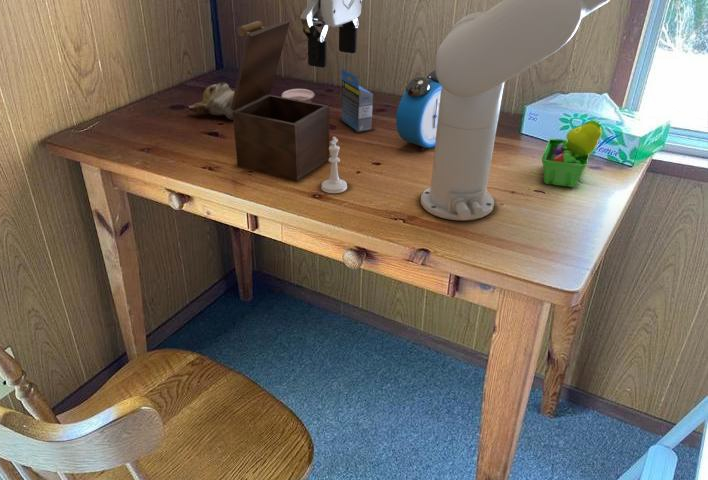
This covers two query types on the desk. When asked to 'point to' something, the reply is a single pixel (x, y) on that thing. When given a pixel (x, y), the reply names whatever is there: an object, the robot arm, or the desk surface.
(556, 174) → the fruit basket
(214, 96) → the ceramic sculpture
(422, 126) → the alarm clock
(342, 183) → the chess piece
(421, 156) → the desk surface
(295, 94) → the teacup
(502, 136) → the desk surface
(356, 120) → the blue cardboard box
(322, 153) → the chest
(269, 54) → the lid
